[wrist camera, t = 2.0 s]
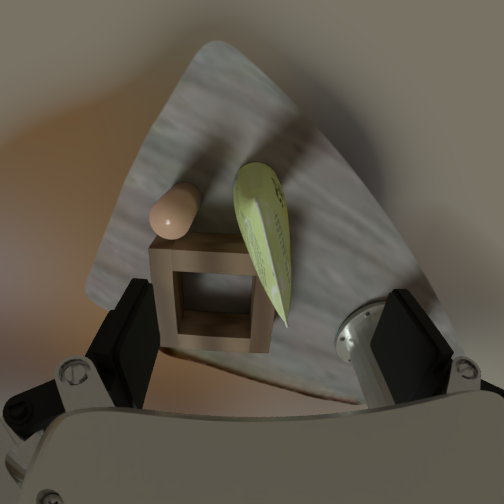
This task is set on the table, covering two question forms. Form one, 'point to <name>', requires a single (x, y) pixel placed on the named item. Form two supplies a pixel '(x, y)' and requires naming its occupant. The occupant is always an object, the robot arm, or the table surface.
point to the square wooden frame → (198, 322)
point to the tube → (265, 230)
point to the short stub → (175, 211)
